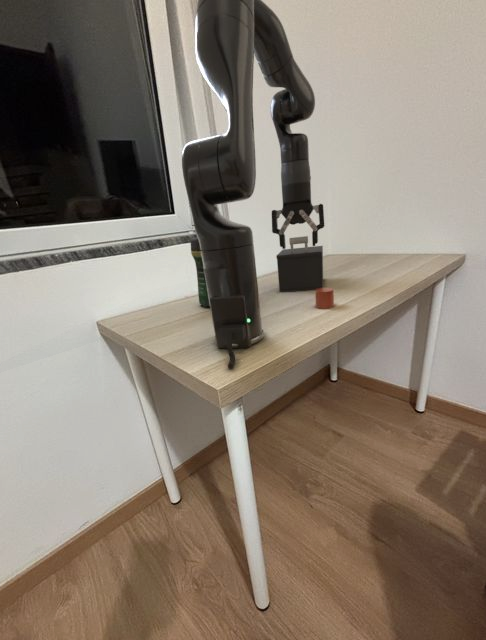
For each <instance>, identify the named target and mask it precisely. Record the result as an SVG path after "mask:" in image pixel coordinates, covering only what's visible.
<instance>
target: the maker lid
mask: <svg viewBox="0 0 486 640" xmlns="http://www.w3.org/2000/svg"><path fill="white" fill-rule="evenodd" d="M308 243H309V237H308V235H306V236H297V237H296V236H295V237H289V245H290V248H285V249H282V250H281V251H280V252H279V253H278V254H276V259H277V258H289V257H300V256H311V255H322V250H323V251H324V249H323V248H324V247H323V245H317V246H316V245H315V246H308ZM301 244H304V247H294V245H301Z"/></svg>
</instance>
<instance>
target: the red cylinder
mask: <svg viewBox="0 0 486 640" xmlns="http://www.w3.org/2000/svg"><path fill="white" fill-rule="evenodd" d="M314 293H315V294H314V295H315V296H314V297H315V308H317V309H323V310H326V309H331V308H333V307H334V306H335V289H334V288H332V287H323V288H319V289H316V290H314Z"/></svg>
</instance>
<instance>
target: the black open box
mask: <svg viewBox="0 0 486 640" xmlns="http://www.w3.org/2000/svg"><path fill="white" fill-rule="evenodd" d="M276 263H277V264H276V265H277V276H278V277H277V278H278V290H279V292H280V293H284V292H300V291H315V290H316V289H319V288H324V249H323V250H322V255H311V256H300V257H289V258H276Z"/></svg>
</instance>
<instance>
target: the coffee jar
mask: <svg viewBox="0 0 486 640" xmlns="http://www.w3.org/2000/svg"><path fill="white" fill-rule="evenodd" d="M190 254H191V256H192V258H193V260H194V263H195V269H196V279H197V294H198V302H199V304H200V305H201V306H202V307H205V308H206V307H210V303H209V297H208V291H207V285H206V279H205V273H204V267H203V261H202V255H201V249H200V244H199V240H198V237H197V236H196V237H192V238H191V239H190Z"/></svg>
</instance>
